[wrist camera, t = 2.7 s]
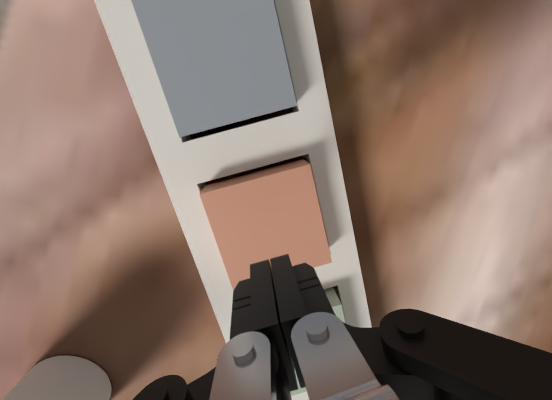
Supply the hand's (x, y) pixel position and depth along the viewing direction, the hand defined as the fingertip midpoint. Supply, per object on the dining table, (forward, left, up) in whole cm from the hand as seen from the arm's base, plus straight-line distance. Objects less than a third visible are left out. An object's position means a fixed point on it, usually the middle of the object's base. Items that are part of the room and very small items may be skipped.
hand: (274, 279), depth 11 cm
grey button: (0, -9, -7) cm, 11 cm away
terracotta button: (0, 0, -7) cm, 7 cm away
